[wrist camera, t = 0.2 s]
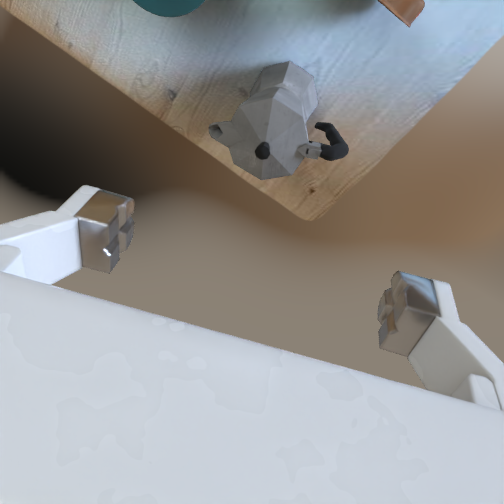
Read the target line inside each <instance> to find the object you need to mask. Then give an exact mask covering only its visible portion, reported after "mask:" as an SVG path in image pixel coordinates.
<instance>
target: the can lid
mask: <svg viewBox="0 0 504 504" xmlns="http://www.w3.org/2000/svg"><path fill="white" fill-rule="evenodd" d="M133 1H134V2H135V3H137V4H138V5H139V6H140V7H142V8H143V9H145V10H147V11H149V12H151V13H153V14H156V15H159V16H164V17H178V16H182V15H186V14H188V13H190V12H192V11H194V10H195V9H197V8H198V7H199V6H200V5H201V4H202V3H203V2H204V1H205V0H133Z"/></svg>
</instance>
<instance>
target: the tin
mask: <svg viewBox="0 0 504 504" xmlns="http://www.w3.org/2000/svg"><path fill="white" fill-rule="evenodd" d="M378 1H379V2H380V3H381V4H383V5H384V6H385V7H386V8H387V9H388V10H389V11H390V12H392V13H393V14H394V15H395V16H396V17H398V18H399V19H400V20H401V21H402V22H404V23H405V24H406V25H407V26H408V27H410V26H411V23H412V22H413V21H414V20H415V19H416V17H417V16H418V15H419V14H420V13H421V11H422V10H423V8H424V6H425V3H424V1H423V0H378Z"/></svg>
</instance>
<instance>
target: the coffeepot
mask: <svg viewBox="0 0 504 504" xmlns="http://www.w3.org/2000/svg"><path fill="white" fill-rule="evenodd" d="M317 105H318V99H317V93H316V88H315V83H314V77H313V76H312V75H310V74H309V73H307V72H306V71H305V70H304V69H302V68H301V67H299V66H297V65H295V64H294V63H292V62H291V61H288V62H284V63H279V64H275V65H272V66H268V67H264V68H263V69H262V71H261V73H260V75H259V77H258V78H257V80H256V82H255V84H254V86H253V88H252V89H251V91H250V98H249V99H247V100H246V101H245V102H243V103H242V104H240V105H239V107H238V109H237V110H236V112H235V114H234V116H233V118H232V120H231V121H224V122H215V123H212V124H210V125H209V133H210V136H211V137H212V138H213V139H215V140H216V141H218V142H220V143H221V144H223V145H225V146H227V147H229V150H230V153H231V156H232V159H233V163H234V164H235V165H237V166H239V167H240V168H242V169H244V170H245V171H247V172H249V173H250V174H252V175H254V176H255V177H257V178H259V179H260V180H265V179H271V178H277V177H283V176H289V175H292V174H293V173H294V171H295V170H296V169H297V167H298V166H299V164H300V163H301V162H302V160H303V159H304V157H307V158H312V159H318V157H321V158H323V159H325V160H329V161H333V160H336V159H340V158H343V157H345V156H346V155H347V154H348V151H349V148H348V145H347V144H346V142H345V141H344V140H343V138H342V137H341V136H340V134H339V132H338V131H337V130H336V129H335V127H334V126H333V125H332V124H331V123H323V122H317V123H316V125H315V128H316V129H319V130H322V131H324V132H326V137H327V139H328V140H329V141H330V145H331V146H330V145H325V144H322V143H318V142H313V141H308V134H307V127H306V121H307V120H308V118H309V117H310V115H311V114H312V112H313V111H314V109H315V108H316V106H317Z"/></svg>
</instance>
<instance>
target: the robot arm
mask: <svg viewBox="0 0 504 504" xmlns="http://www.w3.org/2000/svg"><path fill="white" fill-rule="evenodd" d="M134 211H135V206H134V200H133V199H132V198H129V197H126V196H123V195H119V194H116V193H112V192H109V191H106V190H101V189H98V188H95V187H91V186H88V185H85V186H82V187H81V188H80V189H79V190H77V191H76V192H75V193H74V194H73V195H72V196H71V197H70V198H69V199H68V200H67V201H66V202H65V203H64V204H63V205H62V206H61V207H60V208H59V209H58V210H57V211H55V212H54V211H47V212H43V213H40V214H37V215H33V216H29V217H26V218H22V219H18V220H15V221H11V222H7V223H4V224H1V225H0V504H504V364H503V363H502V362H501V361H500V360H499V358H498V357H497V356H496V355H494V353H493V352H492V351H491V350H490V349H489V348H488V347H487V346H486V345H485V344H484V343H483V342H482V341H481V340H480V339H479V338H478V337H477V336H476V335H475V334H474V333H473V332H472V331H471V330H470V329H469V327H468V326H467V325H466V324H463V323H460V320H459V316H458V312H457V309H456V305H455V301H454V298H453V294H452V290H451V287H450V285H449V284H448V283H446V282H442V281H438V280H434V279H427V278H423V277H420V276H416V275H412V274H408V273H405V272H401V271H397V272H396V273H395V274H394V275H393V277H392V279H391V288H389V289H387V290H385V292H384V293H383V295H382V297H381V300H380V303H379V306H378V321H379V322H380V323H381V325H382V326H381V328H380V329H379V347H380V349H383V350H386V351H390V352H393V353H396V354H400V355H403V356H407V359H408V361H409V362H410V364H411V365H412V367H413V369H414V370H415V372H416V373H417V375H418V376H419V378H420V380H421V381H422V383H423V385H424V386H425V388H426V390H425V389H421V388H418V387H414V386H411V385H407V384H403V383H400V382H396V381H392V380H389V379H385V378H382V377H378V376H375V375H371V374H368V373H364V372H360V371H356V370H353V369H350V368H346V367H342V366H339V365H335V364H332V363H328V362H325V361H321V360H318V359H314V358H310V357H307V356H303V355H300V354H296V353H292V352H289V351H285V350H282V349H278V348H275V347H271V346H267V345H264V344H260V343H257V342H253V341H249V340H246V339H242V338H239V337H235V336H231V335H228V334H224V333H221V332H217V331H213V330H210V329H206V328H203V327H199V326H196V325H192V324H188V323H185V322H181V321H178V320H174V319H171V318H167V317H163V316H159V315H156V314H153V313H149V312H145V311H142V310H138V309H135V308H131V307H127V306H124V305H120V304H117V303H113V302H110V301H106V300H102V299H99V298H95V297H92V296H88V295H85V294H81V293H78V292H74V291H70V290H67V289H63V288H60V287H56V286H52V285H51V284H53V283H55V282H57V281H59V280H60V279H62V278H64V277H66V276H68V275H70V274H72V273H74V272H76V271H78V270H80V269H82V267H85V268H90V269H93V270H97V271H101V272H105V273H109V274H110V272H111V271H112V270H113V268H114V267H115V265H116V264H117V262H118V261H119V253H121V252H124V251H126V250H127V248H128V247H129V245H130V243H131V240H132V238H133V234H134V224H135V223H134V221H133V219H132V218H131V215H132V213H133V212H134Z"/></svg>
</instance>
